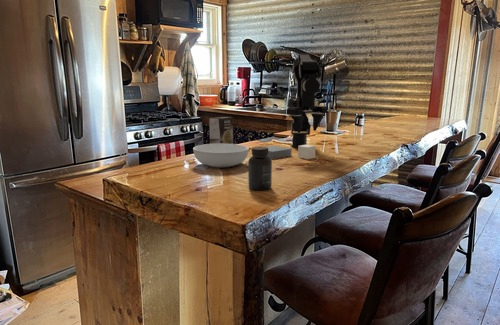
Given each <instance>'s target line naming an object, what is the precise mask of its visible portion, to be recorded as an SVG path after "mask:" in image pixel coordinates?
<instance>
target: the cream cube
mask: <svg viewBox="0 0 500 325" xmlns="http://www.w3.org/2000/svg"><path fill="white" fill-rule="evenodd" d="M297 149H298V150H297V151H298V152H297V154H298V155H297V157H298V158H300V159H303V158H304V160H310V159H315V158H316V145H312V144H306V145H300V146H298V148H297Z"/></svg>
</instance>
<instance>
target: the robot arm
mask: <svg viewBox="0 0 500 325" xmlns="http://www.w3.org/2000/svg"><path fill="white" fill-rule="evenodd" d="M292 74H293V78H294V79H295V81H296V99H294V98H291V99H288V100H287V109H286V115H288V117H290V118H291V119H292V122H291V127H290V135H291V136H292V143H291V144H292V145H290V147H293V148H297V149H298V146H300V145H307V136H310V135H311V127H312V128H313V131H314V132H315V131H317V129H318V127H319V126H320V124H321V122H322V120H323V119H324V117H325V116H326V114H329V108H328V106H326V105H316V99H318V95H316V93H317V92H318V91H319V90H320V87H321V84H320V82H319V80H318V79H320V78H321V76H322V70H321V66H320V63H318V61H317V60H313V59H312V58H311V54H308V53H300V54H298V55H297V58H296V59H294V60H293V64H292ZM307 113H308V114H310V115H311V116H312V126H311V123H310V122H309V118H308V117H309V116H307Z"/></svg>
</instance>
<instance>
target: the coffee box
mask: <svg viewBox="0 0 500 325" xmlns="http://www.w3.org/2000/svg"><path fill="white" fill-rule="evenodd" d="M233 127H234V120H233V117H232V116H217V117H210V118H209V144H217V143H225V144H234V128H233Z"/></svg>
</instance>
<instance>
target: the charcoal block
mask: <svg viewBox="0 0 500 325" xmlns="http://www.w3.org/2000/svg"><path fill="white" fill-rule="evenodd" d="M266 147H267V148H268V153H269V155H268V157H270V158H271V160H275V158H276V159H280V158H281V157H282V158H286V156H288V157H291V156H292V154H293V153H292V148H290V147H284V146H280V145H279V146H278V145H269V146H266Z"/></svg>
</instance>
